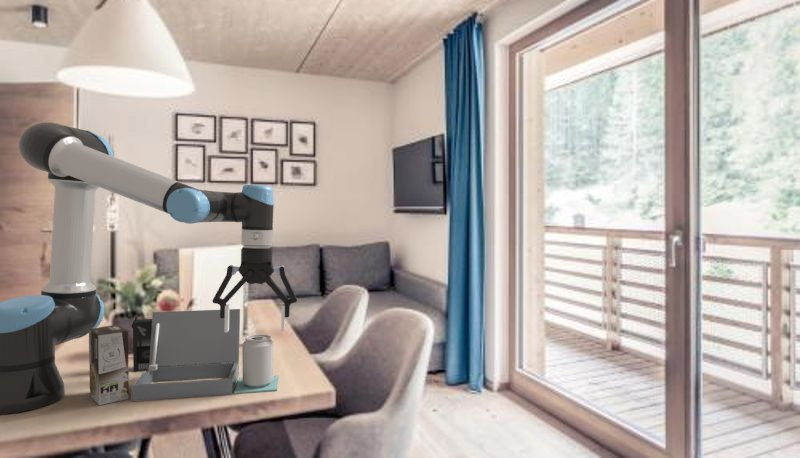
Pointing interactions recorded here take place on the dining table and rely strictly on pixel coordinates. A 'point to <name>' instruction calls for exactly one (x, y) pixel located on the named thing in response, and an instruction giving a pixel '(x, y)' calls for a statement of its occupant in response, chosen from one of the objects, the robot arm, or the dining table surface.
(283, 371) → the dining table surface
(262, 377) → the can
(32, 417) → the dining table surface
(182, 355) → the case
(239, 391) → the pad
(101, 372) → the coffee box
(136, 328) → the geiger counter
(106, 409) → the dining table surface
